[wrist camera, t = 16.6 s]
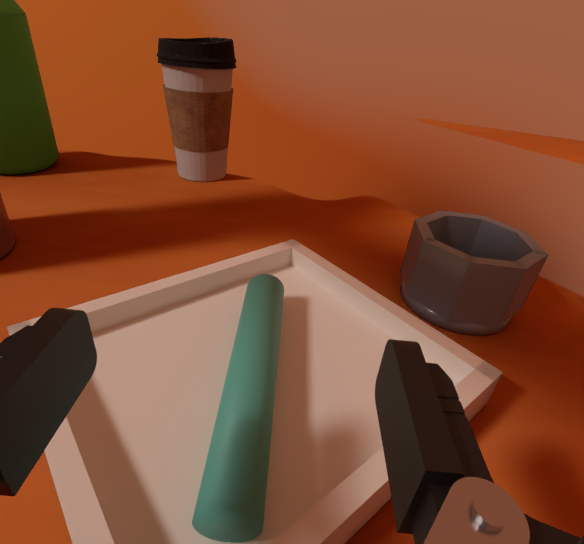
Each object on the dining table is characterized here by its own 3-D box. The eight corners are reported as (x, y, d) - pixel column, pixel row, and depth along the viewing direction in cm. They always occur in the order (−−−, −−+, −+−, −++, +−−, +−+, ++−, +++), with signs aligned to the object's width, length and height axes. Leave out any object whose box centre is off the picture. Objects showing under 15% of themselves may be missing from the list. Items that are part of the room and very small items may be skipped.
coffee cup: (246, 181, 48) (249, 41, 40) (178, 188, 44) (166, 36, 36) (221, 161, 54) (219, 36, 46) (160, 166, 50) (146, 31, 42)
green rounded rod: (239, 288, 25) (177, 522, 13) (266, 267, 24) (225, 498, 12) (265, 310, 26) (229, 549, 14) (292, 291, 25) (277, 528, 13)
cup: (378, 291, 30) (394, 226, 27) (437, 262, 34) (456, 204, 31) (476, 352, 25) (508, 281, 22) (529, 309, 29) (562, 245, 26)
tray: (21, 361, 21) (6, 326, 20) (291, 265, 32) (293, 239, 30) (141, 744, 10) (127, 724, 9) (486, 404, 21) (503, 372, 20)
